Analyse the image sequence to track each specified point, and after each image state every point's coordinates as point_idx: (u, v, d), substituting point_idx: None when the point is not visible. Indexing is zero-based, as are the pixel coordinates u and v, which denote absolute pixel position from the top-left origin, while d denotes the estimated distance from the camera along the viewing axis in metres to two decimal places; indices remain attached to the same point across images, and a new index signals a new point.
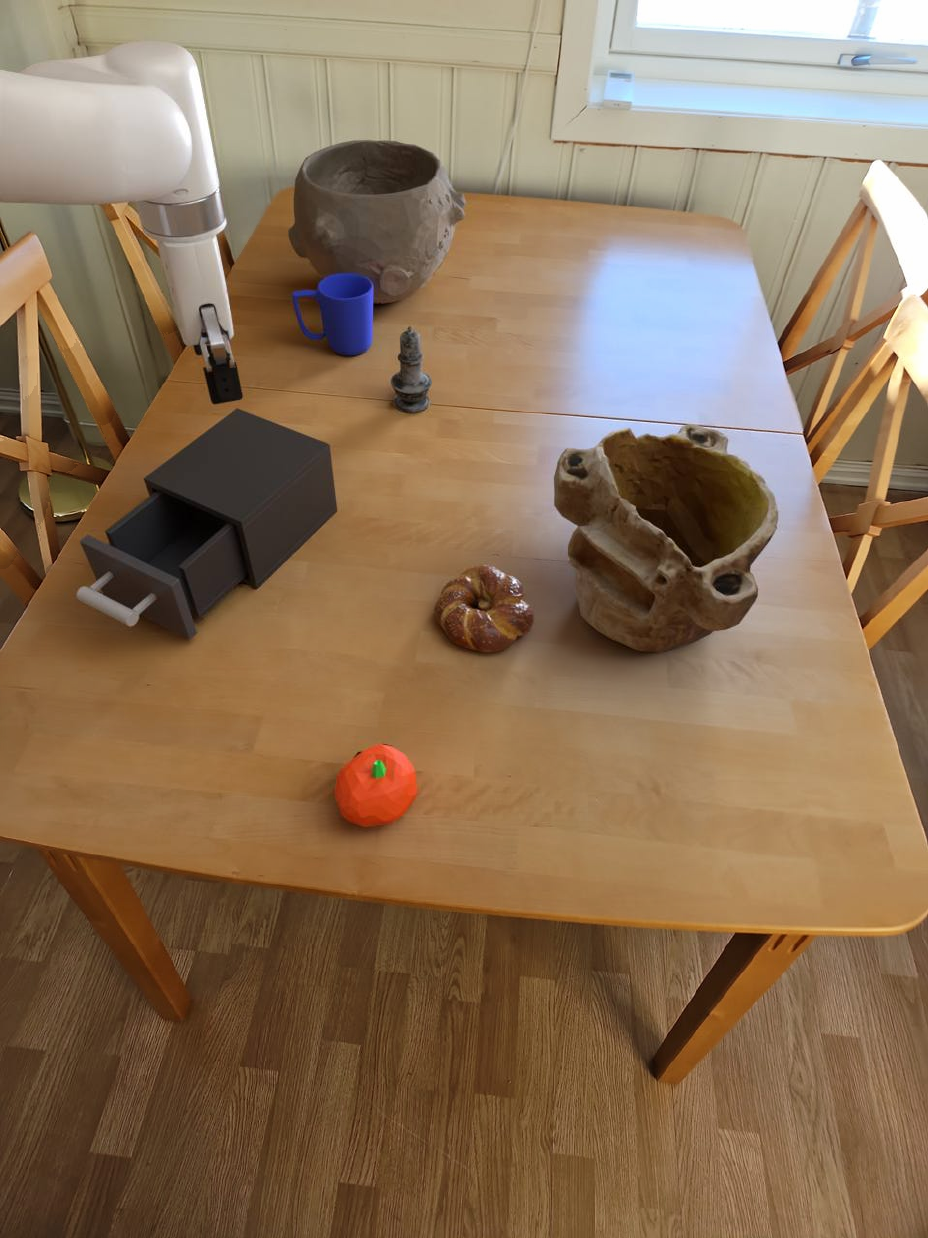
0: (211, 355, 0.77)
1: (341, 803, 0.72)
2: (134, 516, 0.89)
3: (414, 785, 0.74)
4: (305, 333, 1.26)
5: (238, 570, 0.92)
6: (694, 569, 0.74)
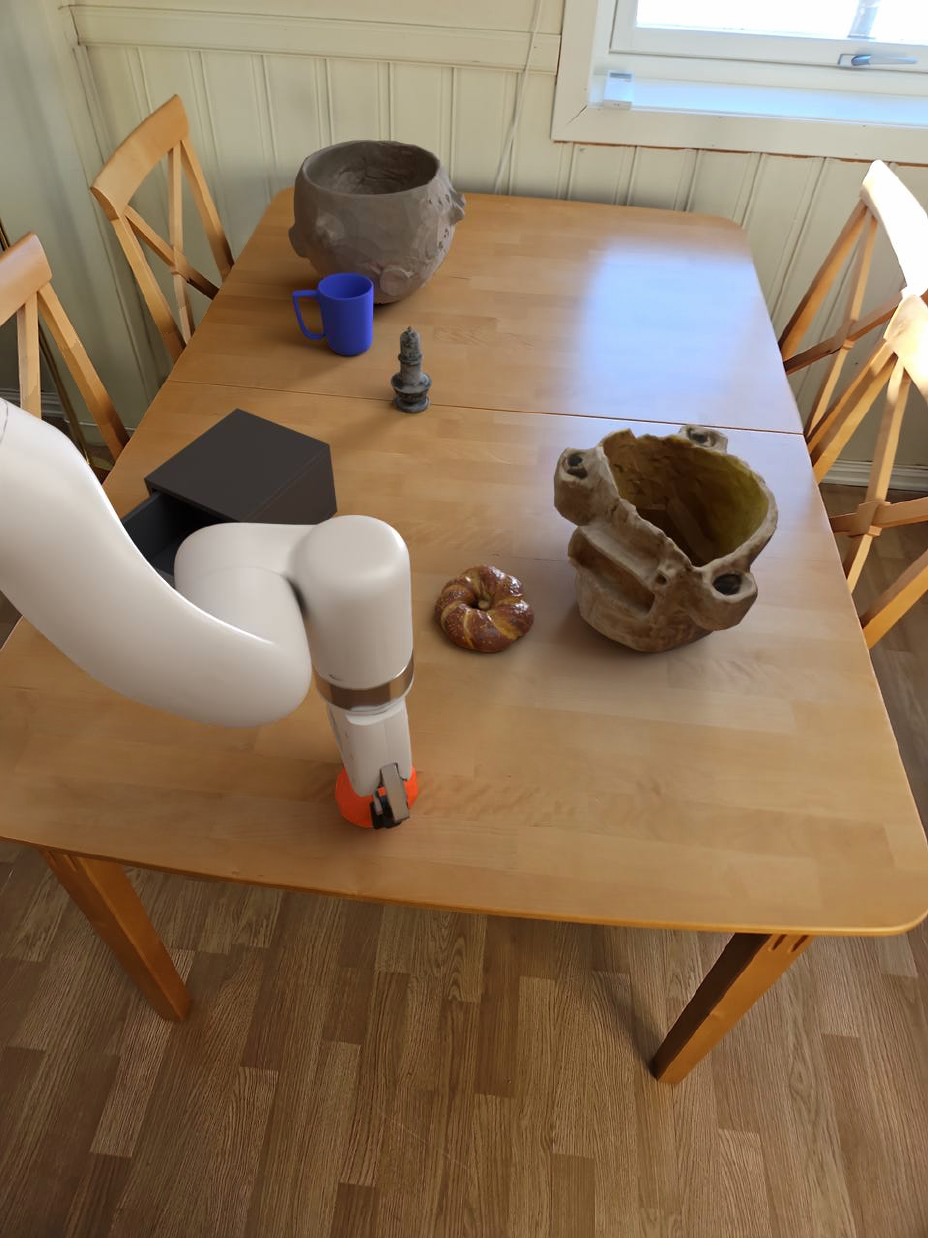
0: (388, 811, 0.65)
1: (341, 803, 0.72)
2: (134, 516, 0.89)
3: (415, 786, 0.74)
4: (305, 333, 1.26)
5: None
6: (694, 569, 0.74)
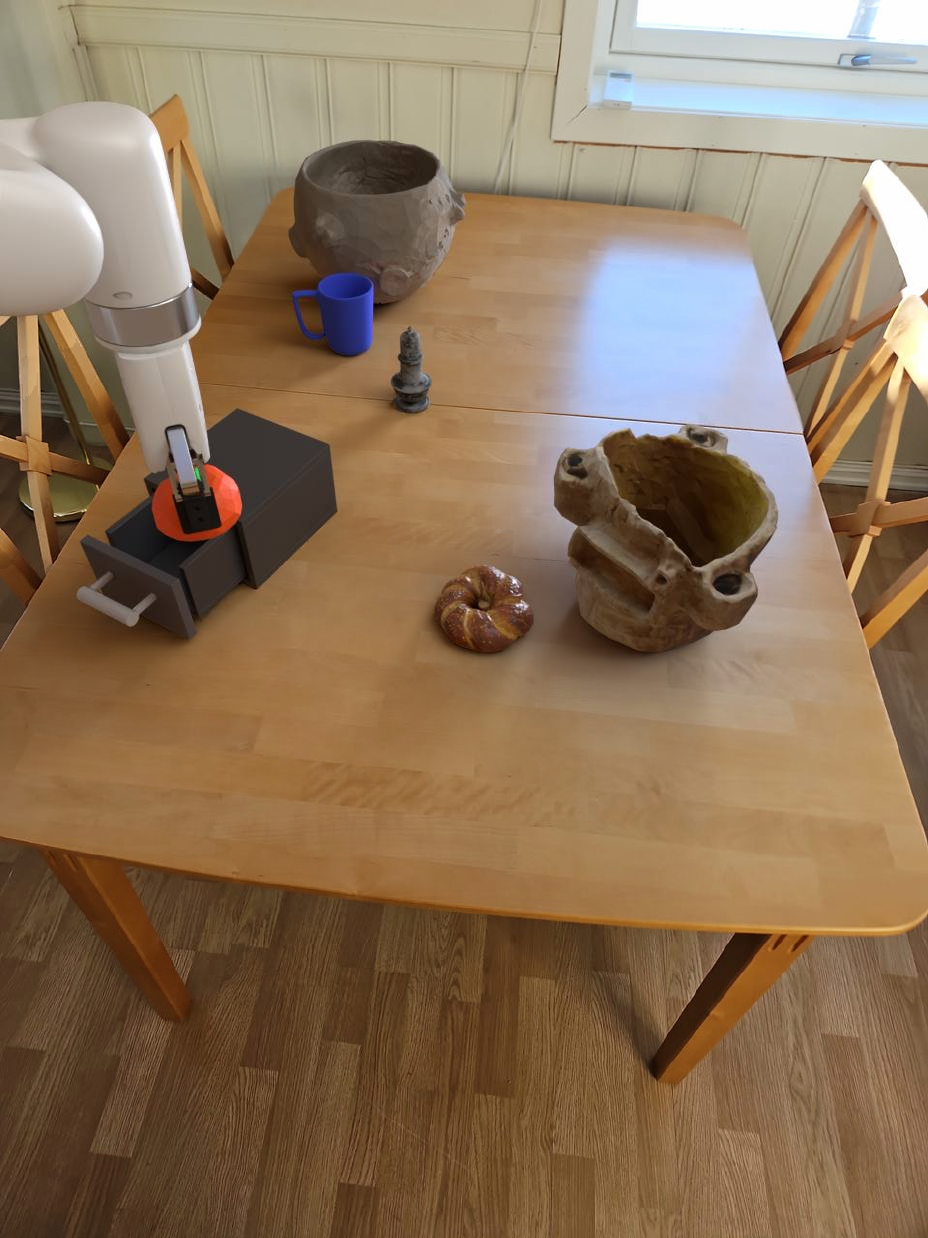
0: (180, 486, 0.63)
1: (154, 511, 0.69)
2: (134, 516, 0.89)
3: (235, 503, 0.71)
4: (305, 333, 1.26)
5: (238, 570, 0.92)
6: (694, 569, 0.74)
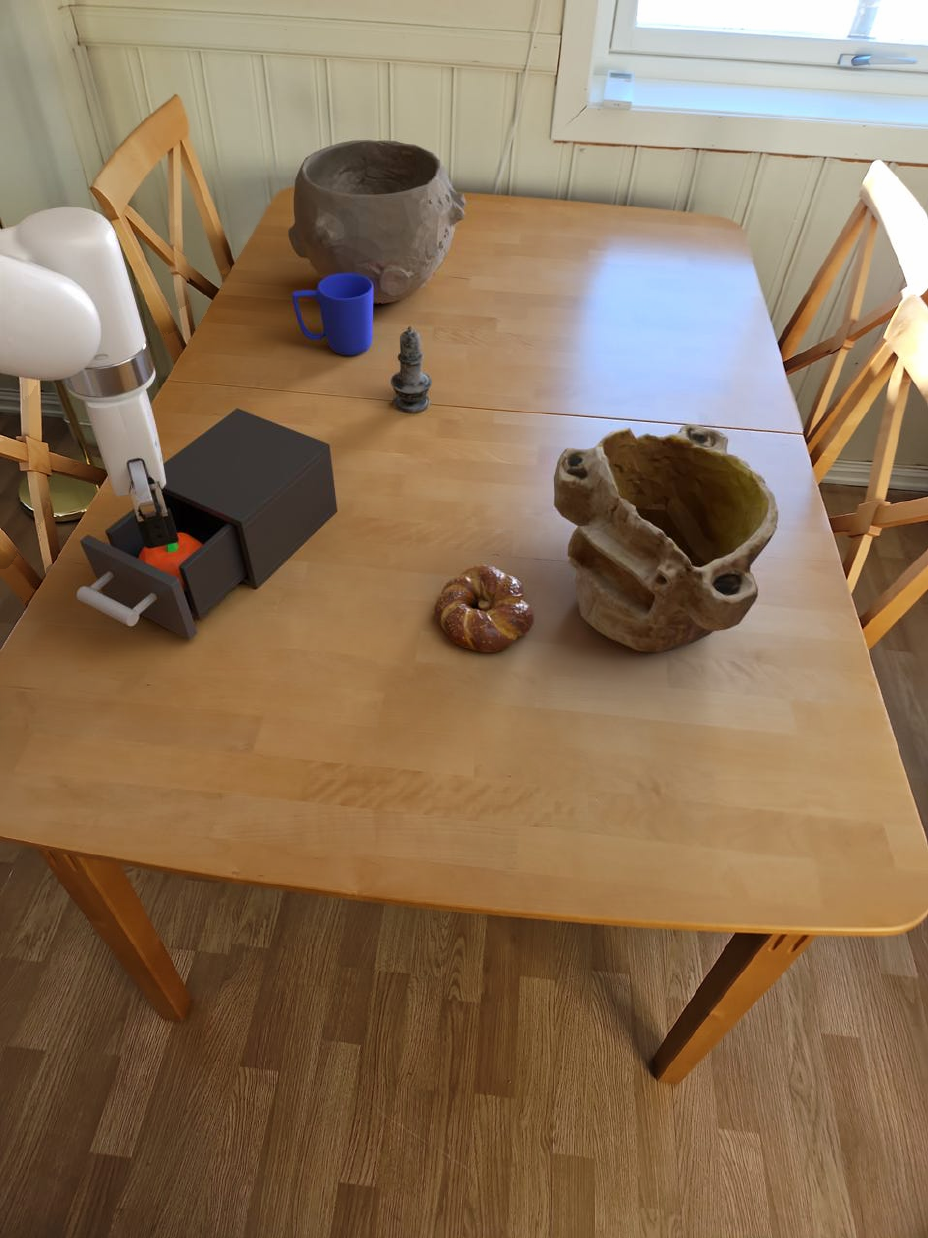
0: (140, 509, 0.75)
1: None
2: (134, 516, 0.89)
3: None
4: (305, 333, 1.26)
5: (238, 570, 0.92)
6: (694, 569, 0.74)
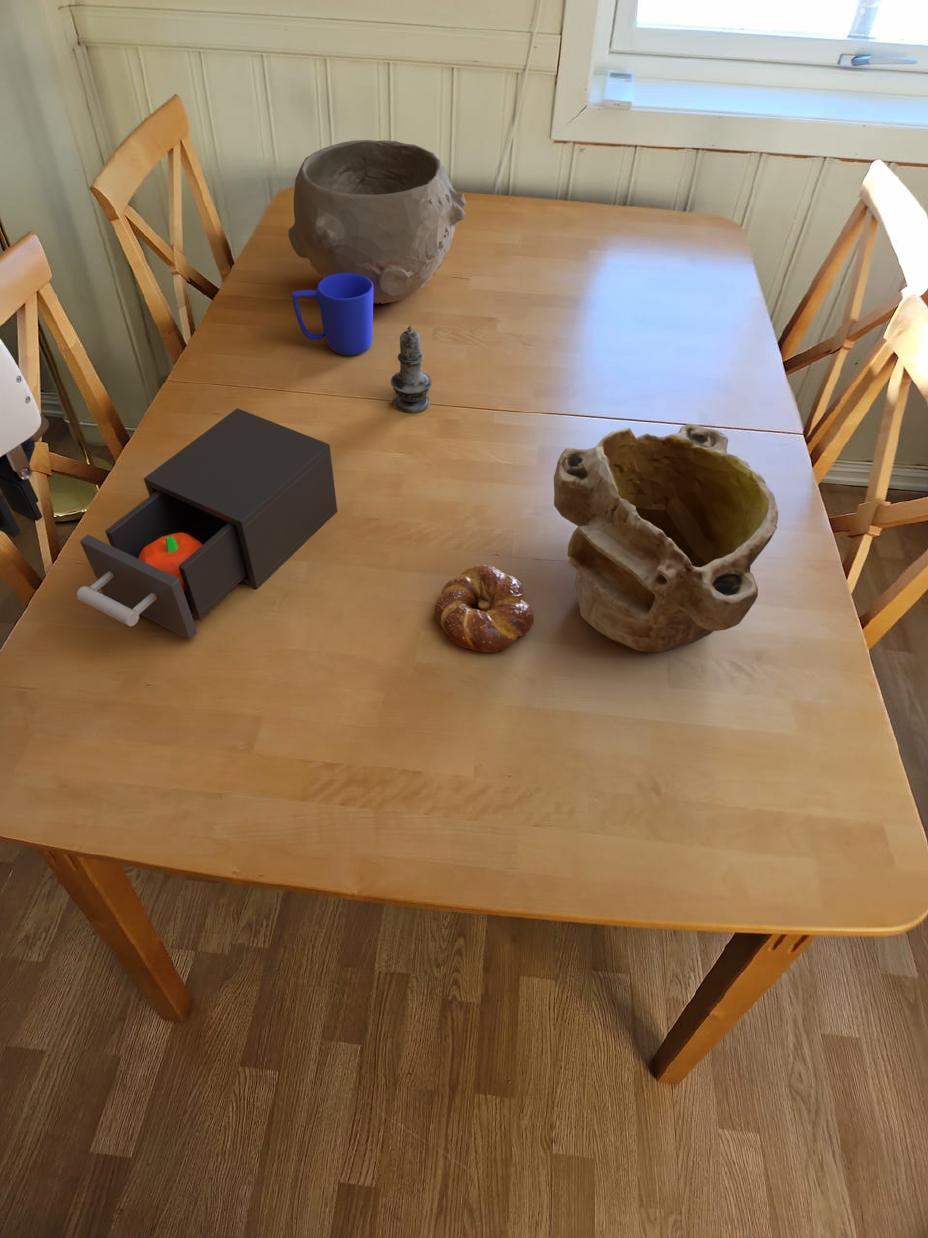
0: None
1: None
2: (134, 516, 0.89)
3: None
4: (305, 333, 1.26)
5: (238, 570, 0.92)
6: (694, 569, 0.74)
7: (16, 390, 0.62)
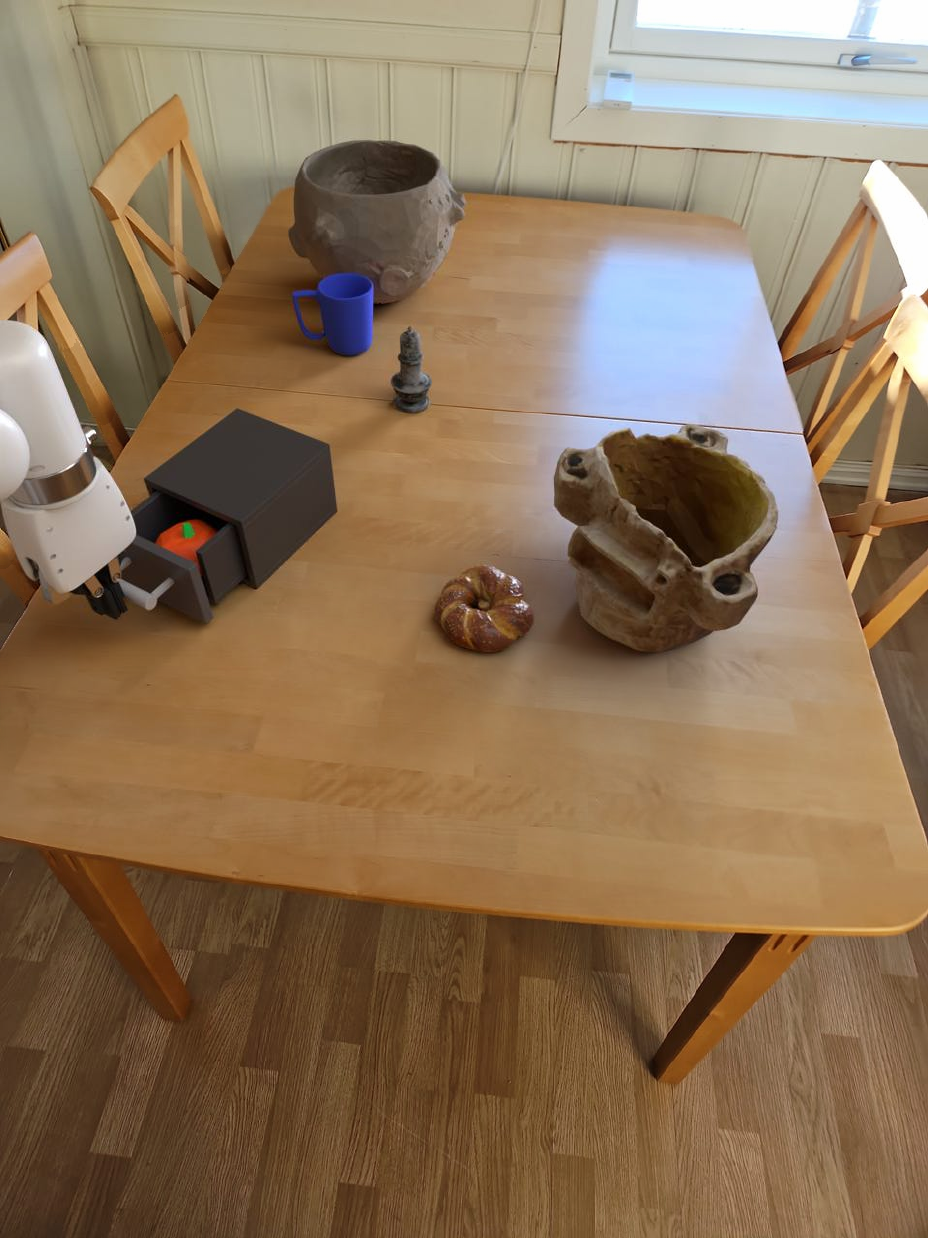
0: None
1: None
2: (151, 503, 0.90)
3: None
4: (305, 333, 1.26)
5: None
6: (694, 569, 0.74)
7: (120, 512, 0.77)
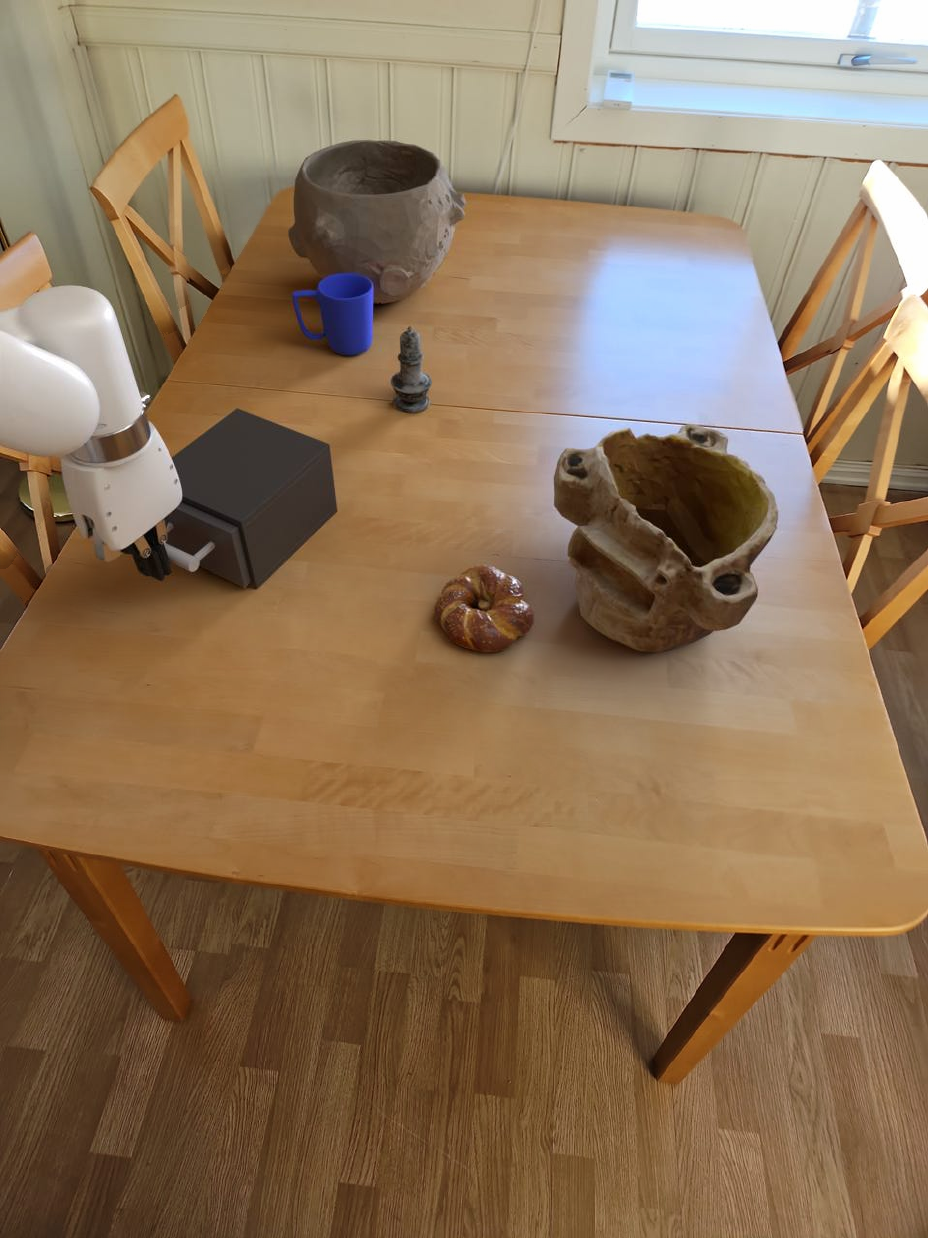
0: None
1: None
2: None
3: None
4: (305, 333, 1.26)
5: None
6: (694, 569, 0.74)
7: (169, 475, 0.81)
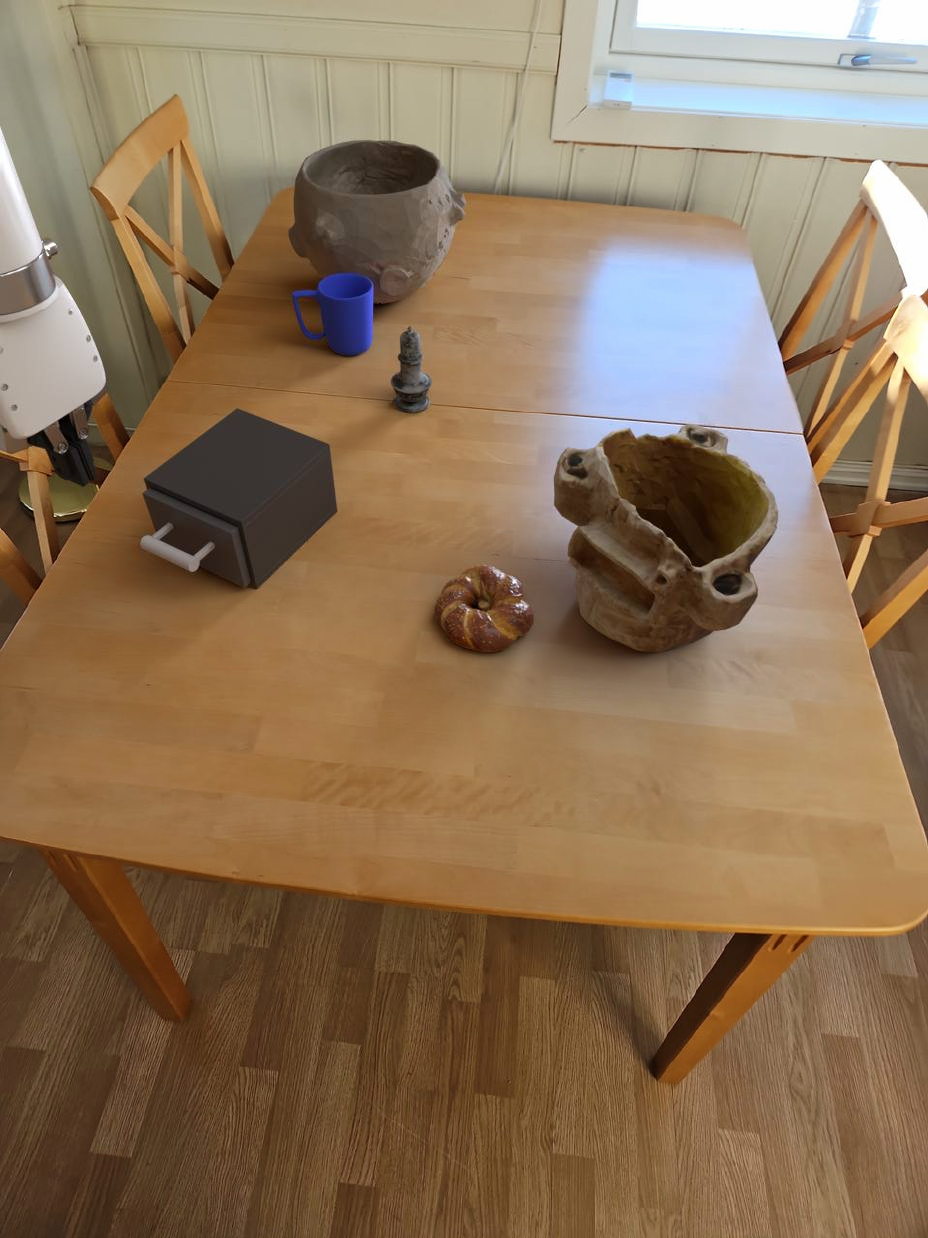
0: None
1: None
2: None
3: None
4: (305, 333, 1.26)
5: None
6: (694, 569, 0.74)
7: (86, 349, 0.66)
